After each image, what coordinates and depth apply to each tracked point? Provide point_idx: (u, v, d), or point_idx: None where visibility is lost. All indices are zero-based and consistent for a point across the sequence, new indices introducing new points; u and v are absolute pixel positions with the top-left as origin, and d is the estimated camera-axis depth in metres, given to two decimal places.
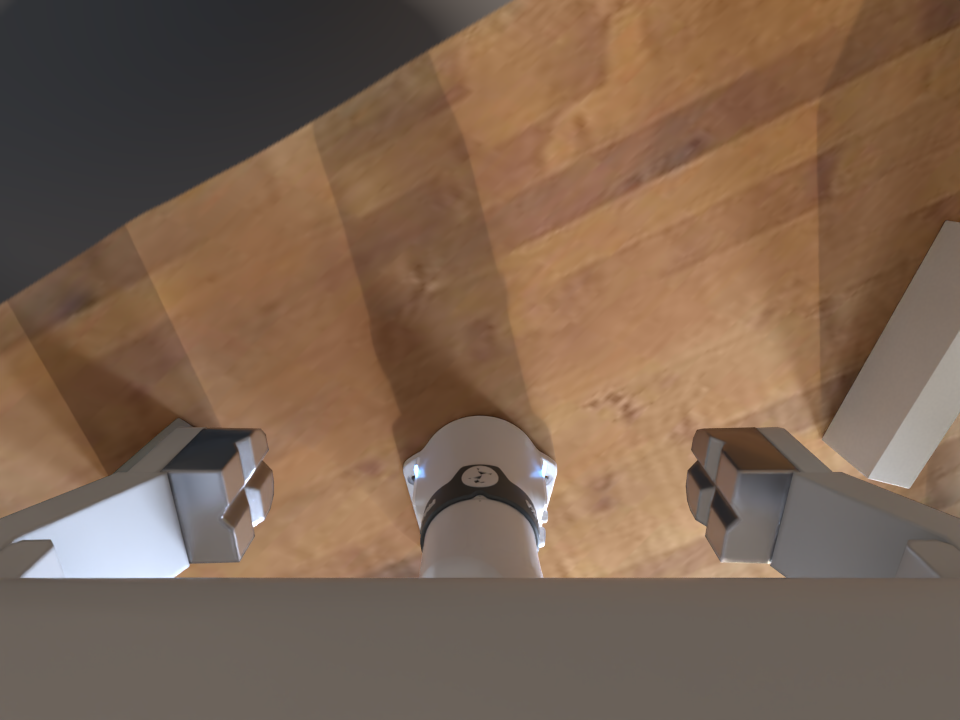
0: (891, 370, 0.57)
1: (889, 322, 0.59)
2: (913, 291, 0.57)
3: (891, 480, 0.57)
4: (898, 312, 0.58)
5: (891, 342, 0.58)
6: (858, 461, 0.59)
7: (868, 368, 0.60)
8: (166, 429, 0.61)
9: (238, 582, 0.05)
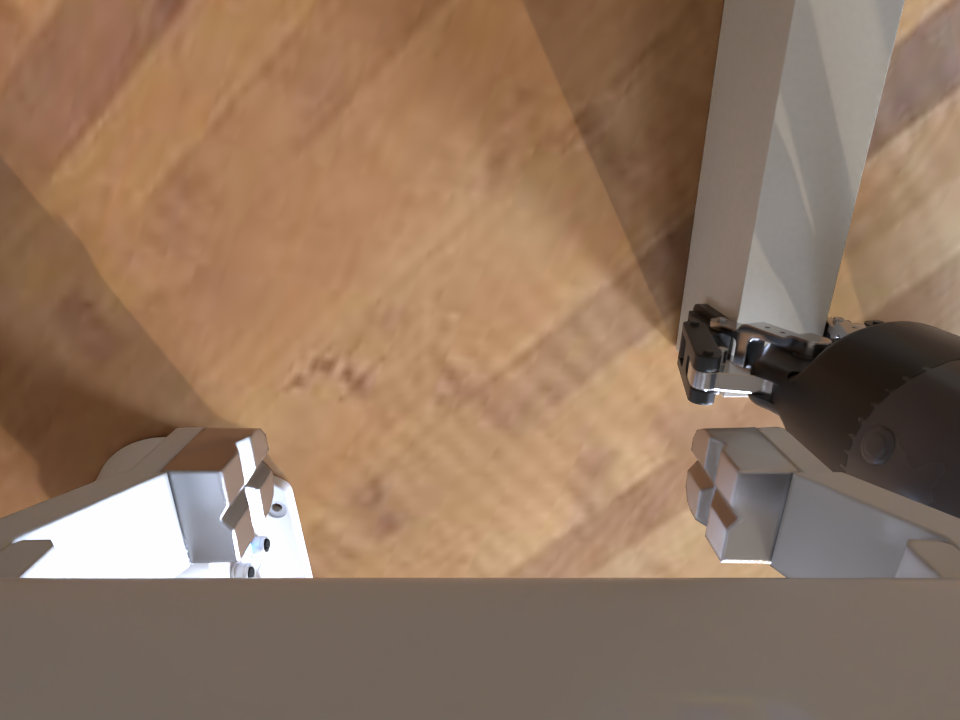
0: (721, 197, 0.32)
1: (708, 119, 0.34)
2: (724, 48, 0.31)
3: None
4: (715, 96, 0.33)
5: (715, 151, 0.33)
6: None
7: (699, 210, 0.35)
8: None
9: (238, 581, 0.05)
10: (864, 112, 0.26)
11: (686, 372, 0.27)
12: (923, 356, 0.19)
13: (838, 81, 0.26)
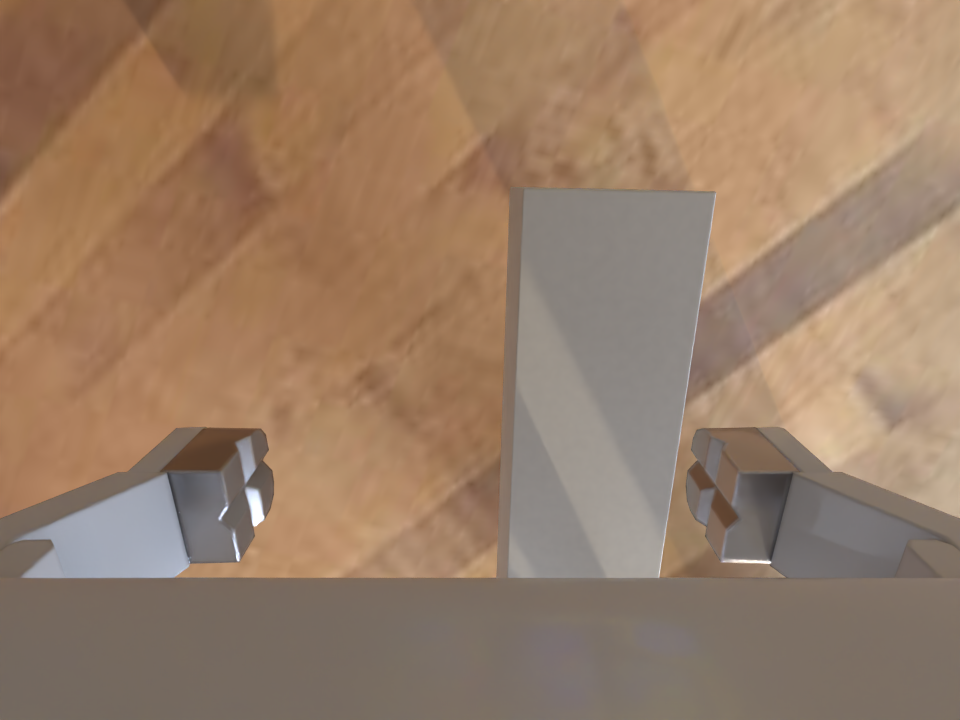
0: (500, 571, 0.23)
1: (501, 441, 0.25)
2: (504, 370, 0.23)
3: None
4: (502, 421, 0.24)
5: None
6: None
7: None
8: None
9: (239, 582, 0.05)
10: (642, 560, 0.17)
11: None
12: None
13: (597, 523, 0.17)
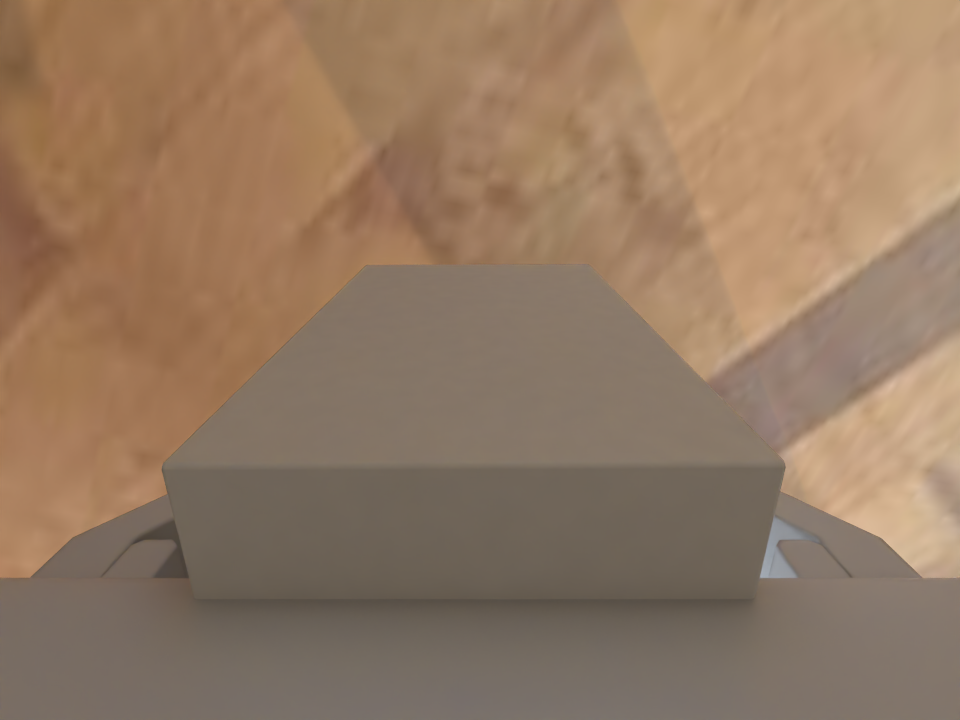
0: None
1: None
2: None
3: None
4: None
5: None
6: None
7: None
8: None
9: None
10: None
11: None
12: None
13: None
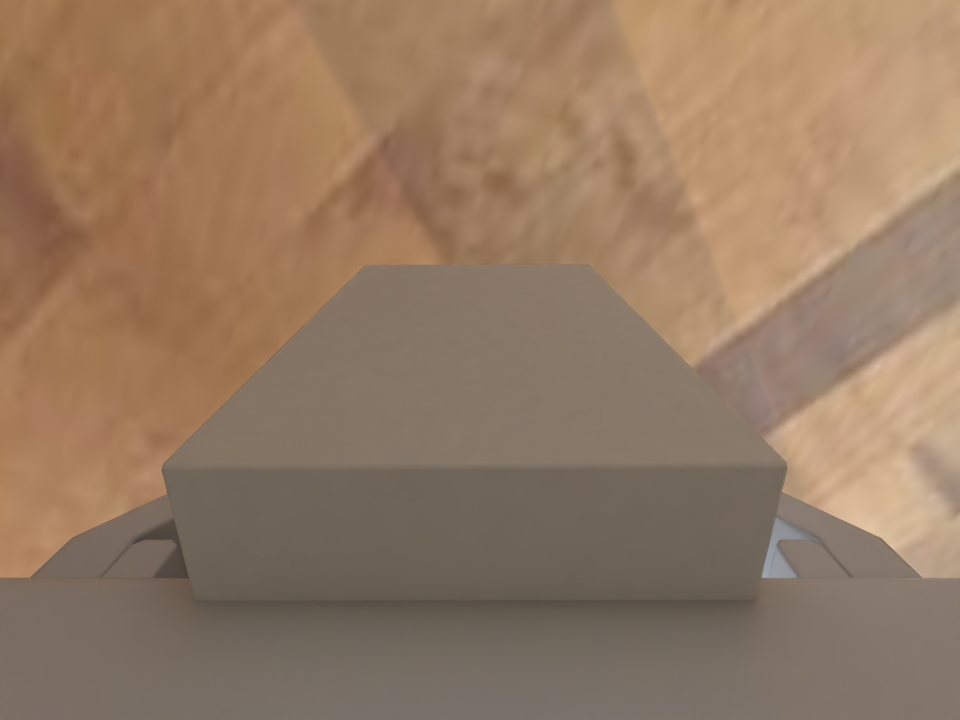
0: None
1: None
2: None
3: None
4: None
5: None
6: None
7: None
8: None
9: None
10: None
11: None
12: None
13: None
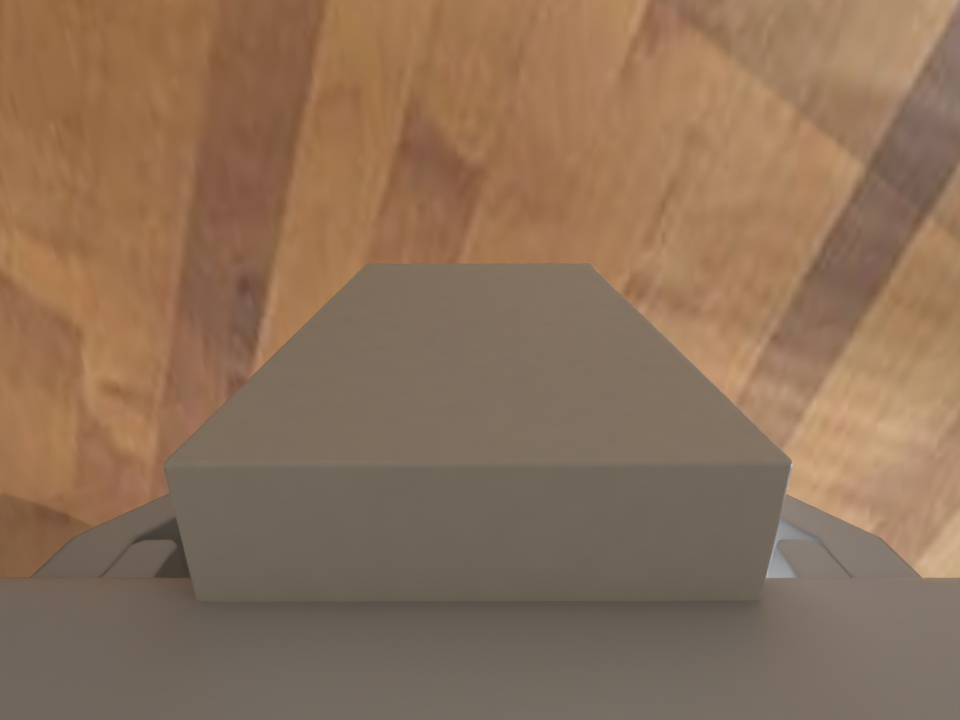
0: None
1: None
2: None
3: None
4: None
5: None
6: None
7: None
8: None
9: None
10: None
11: None
12: None
13: None
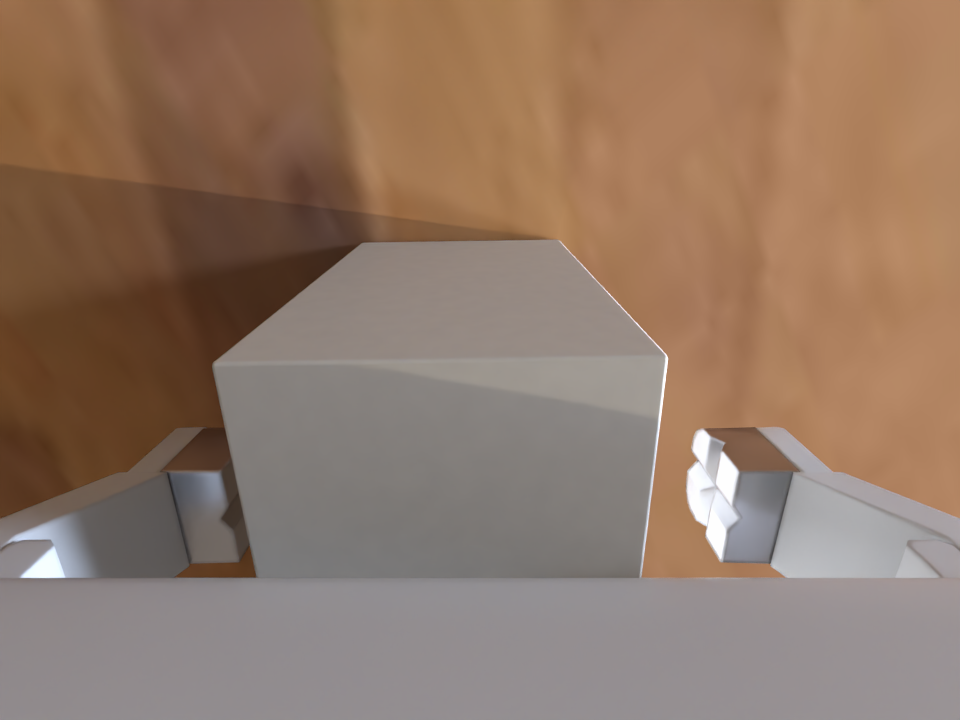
0: None
1: None
2: None
3: None
4: None
5: None
6: None
7: None
8: None
9: (238, 582, 0.05)
10: None
11: None
12: None
13: None
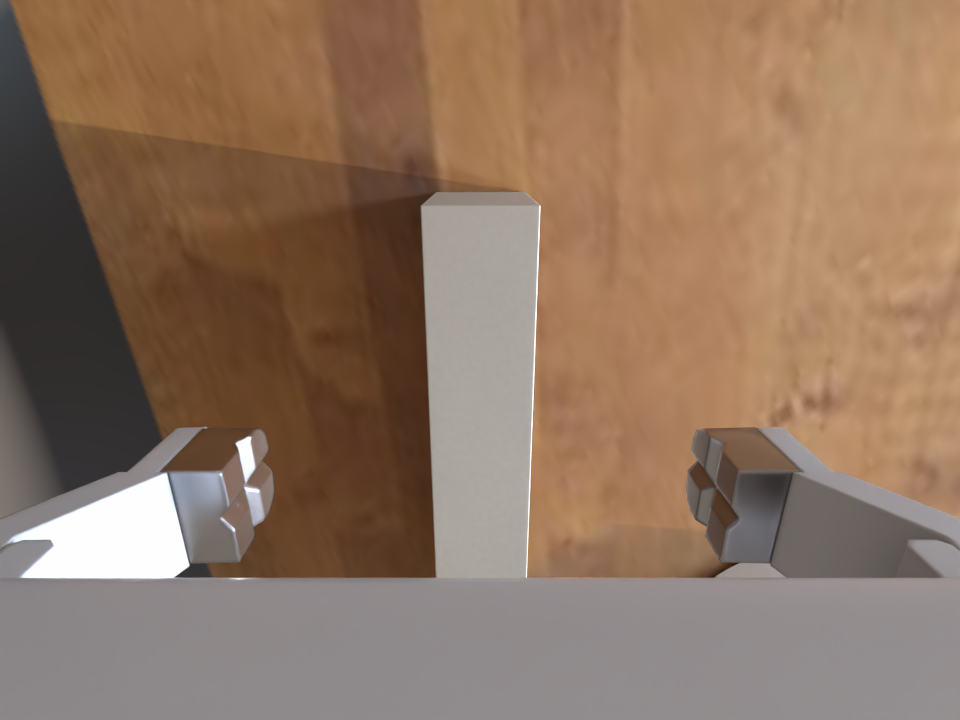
0: None
1: None
2: None
3: None
4: None
5: None
6: None
7: None
8: None
9: (239, 583, 0.05)
10: (518, 444, 0.26)
11: None
12: None
13: (486, 420, 0.26)
